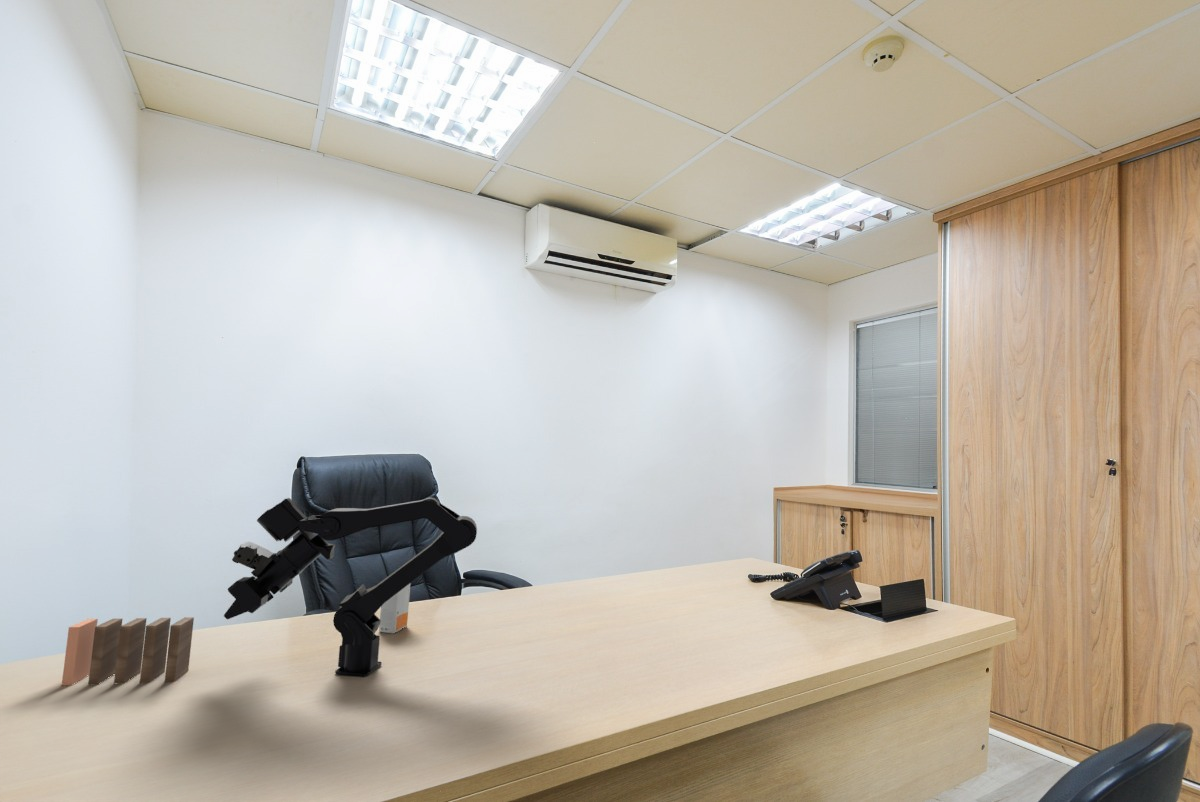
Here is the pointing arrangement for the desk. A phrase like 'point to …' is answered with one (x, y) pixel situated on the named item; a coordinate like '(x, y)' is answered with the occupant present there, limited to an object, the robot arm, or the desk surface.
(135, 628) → the domino
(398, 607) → the skincare box
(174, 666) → the domino
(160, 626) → the domino
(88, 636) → the domino
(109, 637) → the domino
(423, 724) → the desk surface
